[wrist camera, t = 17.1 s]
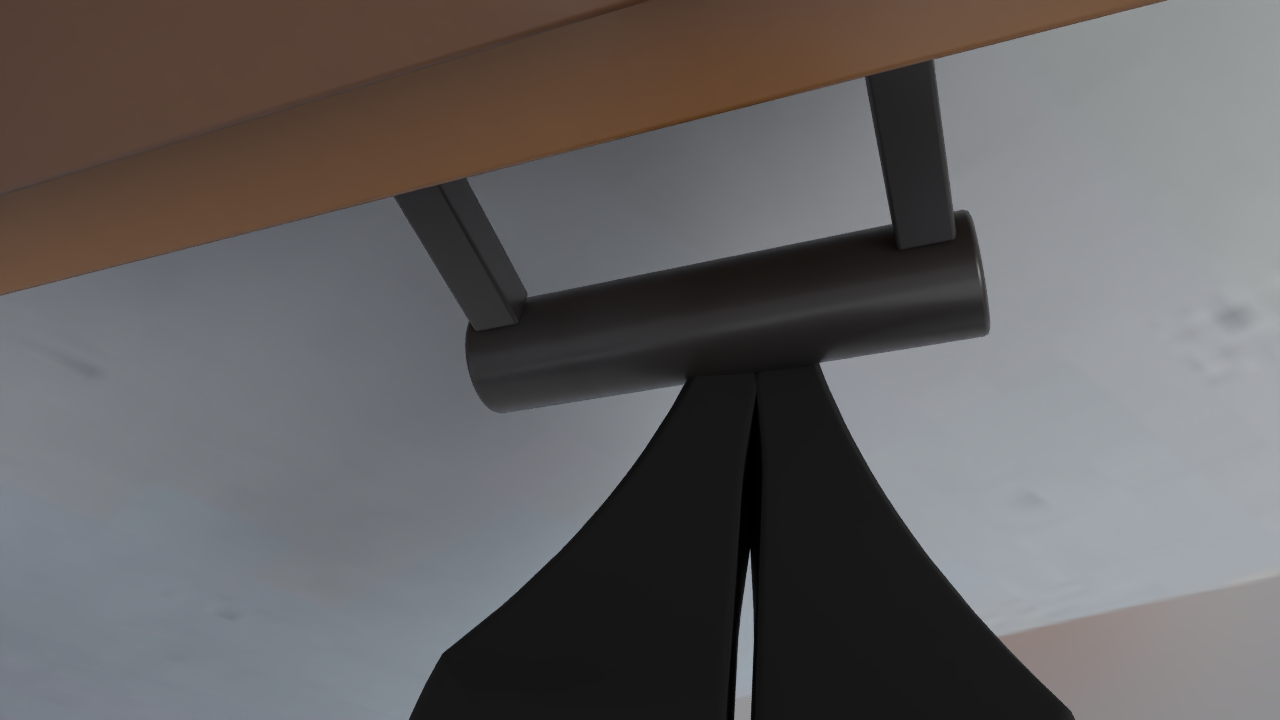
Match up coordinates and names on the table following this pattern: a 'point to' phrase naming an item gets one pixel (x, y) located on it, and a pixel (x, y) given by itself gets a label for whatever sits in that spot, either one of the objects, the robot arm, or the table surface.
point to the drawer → (573, 119)
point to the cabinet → (217, 65)
